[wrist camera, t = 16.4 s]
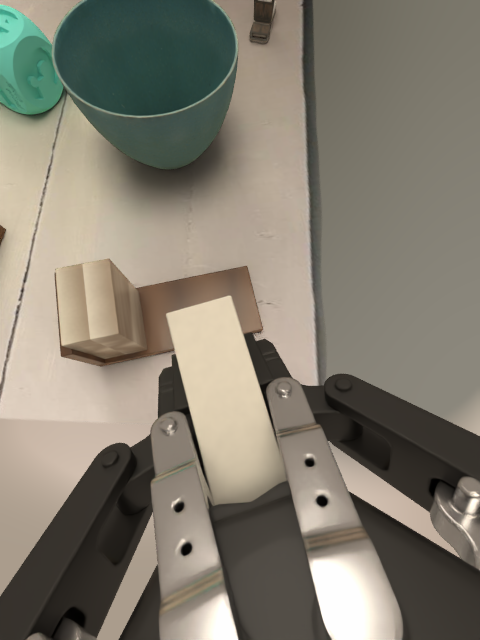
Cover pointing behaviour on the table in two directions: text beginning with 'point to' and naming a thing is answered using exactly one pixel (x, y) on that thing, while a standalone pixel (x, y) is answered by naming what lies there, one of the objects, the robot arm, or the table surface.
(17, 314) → the table surface
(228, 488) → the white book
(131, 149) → the teal bowl
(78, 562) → the robot arm
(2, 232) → the brown wooden bookend
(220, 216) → the table surface
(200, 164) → the table surface
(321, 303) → the table surface
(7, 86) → the decorative dice
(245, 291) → the brown wooden book rack
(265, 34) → the strap clip
